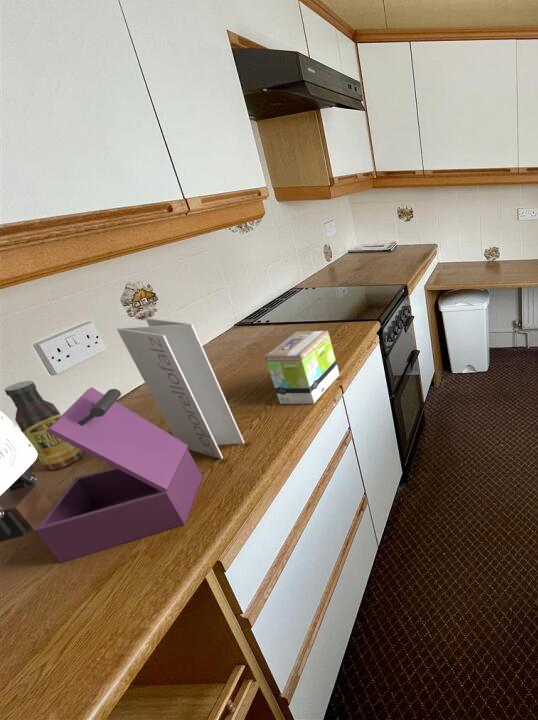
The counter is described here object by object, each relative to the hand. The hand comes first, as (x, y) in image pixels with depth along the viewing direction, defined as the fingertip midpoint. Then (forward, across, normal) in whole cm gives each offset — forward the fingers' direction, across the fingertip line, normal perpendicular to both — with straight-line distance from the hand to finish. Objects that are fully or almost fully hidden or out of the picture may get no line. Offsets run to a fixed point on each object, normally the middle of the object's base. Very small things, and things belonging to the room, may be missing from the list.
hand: (23, 521), depth 56 cm
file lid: (-1, +14, -7) cm, 16 cm away
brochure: (+15, +32, -10) cm, 37 cm away
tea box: (+15, +48, -30) cm, 59 cm away
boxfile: (+15, +14, -3) cm, 21 cm away
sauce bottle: (+16, +40, +20) cm, 48 cm away
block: (0, 0, 0) cm, 0 cm away
